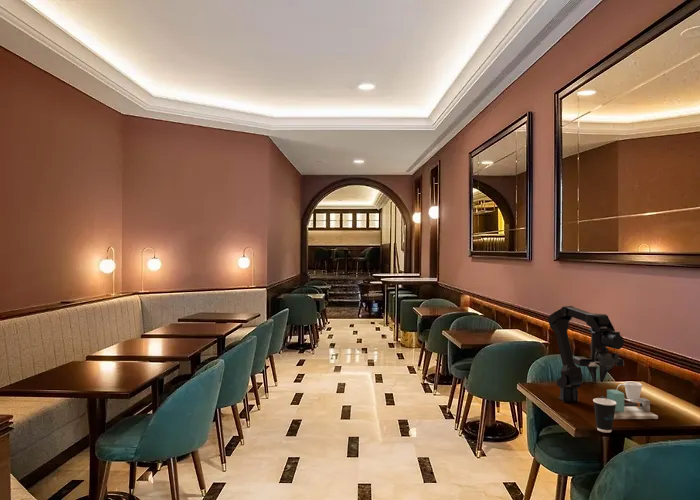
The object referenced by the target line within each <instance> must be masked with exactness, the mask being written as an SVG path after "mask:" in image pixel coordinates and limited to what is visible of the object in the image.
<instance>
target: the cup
mask: <svg viewBox="0 0 700 500" xmlns="http://www.w3.org/2000/svg"><path fill="white" fill-rule="evenodd" d="M620 386H623V387H624V388H625V395H626V398H625V397H624V401H627V402H628V403H635V402H638V398H641V392H642V387H643V384H642V383H640V382H639V381H630V380H629V381H627V380H626V381H624V383H619V384H618V385H617V387H616V390H618V389H619V387H620ZM618 391H619V390H618Z"/></svg>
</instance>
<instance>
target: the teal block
mask: <svg viewBox="0 0 700 500" xmlns="http://www.w3.org/2000/svg"><path fill="white" fill-rule="evenodd" d="M606 398H607V399H610V400H613V401H615V402H616V403H617V404H616V407H615V412H624V403H625V399H624V398H625V393H624V392H622V391H619V390H617V389H606Z"/></svg>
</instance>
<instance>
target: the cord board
mask: <svg viewBox="0 0 700 500" xmlns="http://www.w3.org/2000/svg"><path fill="white" fill-rule="evenodd" d="M600 398H605V399H607V397H605V396H604V395H600ZM653 419H654V420H658V419H659V415H657V414H655V413H653V412H651V400H649V399H647V398H645V397H639V398H638V402H624V412H615V414H614V420H653Z"/></svg>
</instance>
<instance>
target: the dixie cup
mask: <svg viewBox="0 0 700 500" xmlns="http://www.w3.org/2000/svg"><path fill="white" fill-rule="evenodd" d="M605 398H606V397H604V398H601V397H596V398H593V399H592V401H593V404H594V405H593V408H594V415H595V425H596V429H597V431H599V432H601V433H612V431H613V427H614V420H615V419H614V414H615V407H616V404H617V403H616V402H615V401H613V400H610V399H605Z"/></svg>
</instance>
